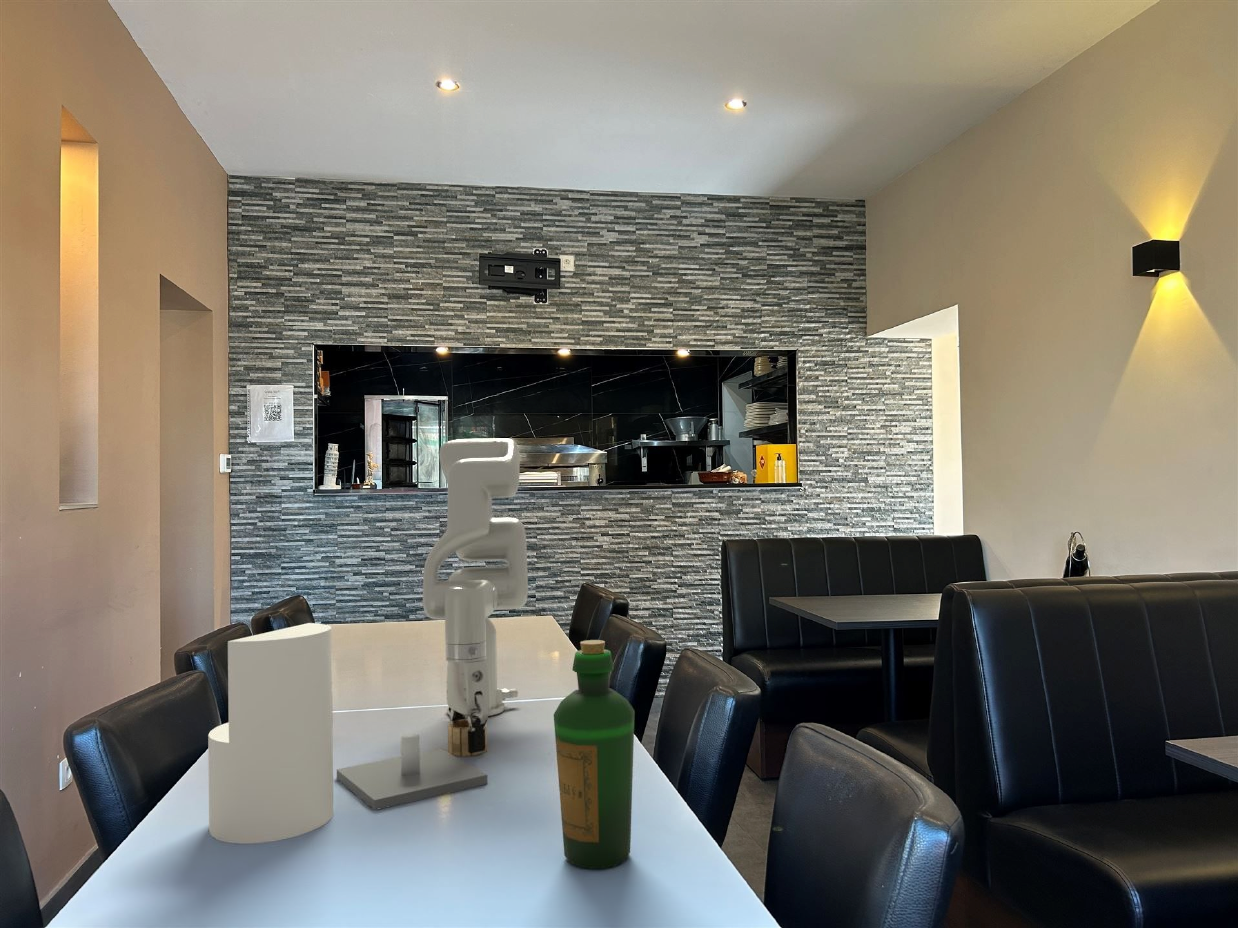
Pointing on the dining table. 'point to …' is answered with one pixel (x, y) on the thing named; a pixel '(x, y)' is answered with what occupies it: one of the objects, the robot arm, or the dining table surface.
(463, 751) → the wooden stave ring
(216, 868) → the dining table surface
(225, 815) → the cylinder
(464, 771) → the stand
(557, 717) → the bottle
